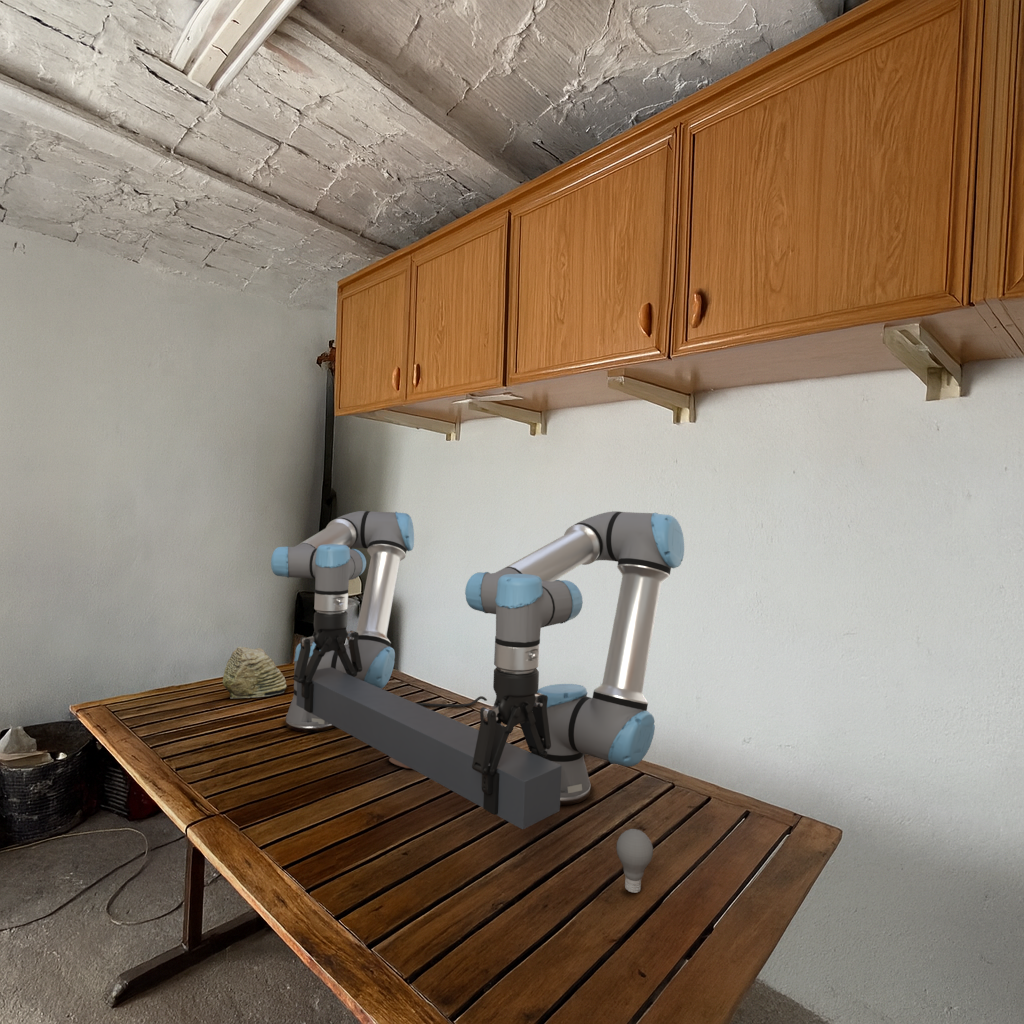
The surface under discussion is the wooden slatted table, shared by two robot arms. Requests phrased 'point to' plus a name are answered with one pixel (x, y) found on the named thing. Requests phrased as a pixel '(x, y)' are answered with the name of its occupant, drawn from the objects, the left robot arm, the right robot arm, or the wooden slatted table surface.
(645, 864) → the light bulb
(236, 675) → the fossil
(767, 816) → the wooden slatted table surface
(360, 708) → the long dark gray bar
